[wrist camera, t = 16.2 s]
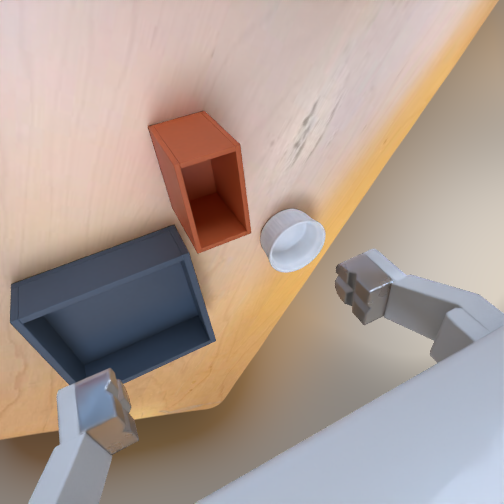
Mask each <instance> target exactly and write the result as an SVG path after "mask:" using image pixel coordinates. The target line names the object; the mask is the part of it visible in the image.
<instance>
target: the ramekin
mask: <svg viewBox="0 0 504 504" xmlns="http://www.w3.org/2000/svg"><path fill="white" fill-rule="evenodd" d="M260 241H261V246H262V248H263V250H264V252H265V253H266V255H267V257H268V259H269V262H270V264H271V266H272V267H273V268H274V269H275V270H277V271H280V272H293V271H296V270H299V269H301V268H303V267H304V266H306V265H307V264H309V263H310V262H311V261H312V260H313V259H314V258H315V257H316V256H317V255H318V254H319V252H320V251H321V249H322V247H323V244H324V241H325V229H324V227H323V226H322V225H321V224H320V223H319V222H317V221H315V220H313V219H312V218H311V217H309V216H308V215H307V214H306V213H304V212H302V211H300V210H298V209H286V210H283V211H281V212H279V213H277V214H275V215H274V216H273V217H272V218H271V219H270V220H269V221H268V222H267V223H266V224H265V226H264V228H263V230H262V232H261V238H260Z"/></svg>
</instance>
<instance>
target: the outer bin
mask: <svg viewBox="0 0 504 504" xmlns="http://www.w3.org/2000/svg"><path fill="white" fill-rule="evenodd" d="M10 323H11V324H12V325H13V326H14V327H15V328H16V330H17V331H18V332H19V333H20V334H21V335H22V336H23V337H24V338H25V339H26V340H27V341H28V342H29V343H30V344H31V345H32V346H33V347H34V348H35V349H36V350H37V352H38V353H39V354H40V355H41V356H42V357H43V358H44V359H45V360H46V361H47V362H48V363H49V364H50V365H51V366H52V367H53V368H54V369H55V370H56V371H57V372H58V374H59V375H60V376H61V377H62V378H63V379H64V380H65V381H66V382H67V383H68V384H69V385H71V384H73V383H76V382H78V381H81V380H83V379H85V378H88V377H90V376H92V375H94V374H97V373H99V372H101V371H104V370H106V369H108V368H111V369H112V370H113V371H114V372H115V376H116V379H118V380H121V382H122V383H123V384H124V383H126V382H128V381H131V380H133V379H135V378H137V377H139V376H141V375H144V374H146V373H148V372H150V371H152V370H154V369H156V368H159V367H161V366H163V365H165V364H167V363H169V362H172V361H174V360H176V359H178V358H180V357H182V356H184V355H187V354H189V353H191V352H193V351H195V350H197V349H200V348H202V347H204V346H206V345H208V344H210V343H212V342H215V341H216V339H215V335H214V332H213V329H212V326H211V322H210V319H209V316H208V313H207V309H206V306H205V303H204V300H203V296H202V293H201V290H200V287H199V283H198V280H197V277H196V274H195V270H194V267H193V264H192V261H191V257H190V254H189V252H188V250H187V248H186V246H185V244H184V242H183V240H182V239H181V237H180V235H179V233H178V231H177V229H176V227H175V225H172V226H169V227H167V228H164V229H161V230H158V231H156V232H153V233H150V234H147V235H145V236H142V237H139V238H136V239H134V240H131V241H128V242H126V243H123V244H120V245H117V246H115V247H112V248H109V249H106V250H104V251H101V252H98V253H95V254H93V255H90V256H87V257H84V258H82V259H79V260H76V261H74V262H71V263H68V264H65V265H63V266H60V267H57V268H54V269H52V270H49V271H46V272H43V273H41V274H38V275H35V276H32V277H30V278H27V279H24V280H22V281H19V282H16V283H13V284H11V305H10Z"/></svg>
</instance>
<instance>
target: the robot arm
mask: <svg viewBox="0 0 504 504" xmlns="http://www.w3.org/2000/svg"><path fill="white" fill-rule="evenodd" d="M336 273H337V274H338V277H337V279H336V280H335V288H336V291H337V294H338V295H339V297H340V299H341V300H342V301H343V302H344V303H345V304H348V305H351V306H352V312H353V313H354V315H355V316H356V317H357V318H358V319H359V320H360V321H361V322H362V324H363V325H366V324H368V323H370V322H372V321H374V320H376V319H378V318H381V317H382V316H384V317H385V318H386V319H389V320H391V321H393V322H395V323H397V324H399V325H402V326H404V327H406V328H408V329H410V330H412V331H415V332H417V333H419V334H421V335H423V336H425V337H428V338H430V339H432V340H434V343H433V346H432V348H431V350H430V356H431V357H432V358H433V359H434V360H435V361H436V362H437V364H435V365H434V366H432V367H430V368H428V369H427V370H425V371H423V372H421V373H420V374H418V375H416V376H415V377H413V378H411V379H409V380H408V381H406V382H404V383H402V384H401V385H399V386H398V387H395V388H394V389H392V390H390V391H389V392H387V393H385V394H383V395H382V396H380V397H378V398H376V399H375V400H373V401H371V402H369V403H368V404H366V405H364V406H362V407H361V408H359V409H357V410H356V411H354V412H352V413H350V414H349V415H347V416H345V417H343V418H342V419H340V420H338V421H337V422H335V423H333V424H331V425H330V426H328V427H326V428H324V429H323V430H321V431H319V432H317V433H316V434H314V435H312V436H310V437H309V438H307V439H305V440H303V441H302V442H300V443H299V444H296V445H295V446H293V447H291V448H290V449H288V450H286V451H284V452H283V453H281V454H280V455H277V456H276V457H274V458H272V459H270V460H269V461H267V462H266V463H264V464H262V465H260V466H258V467H257V468H255V469H253V470H251V471H250V472H248V473H247V474H244V475H243V476H241V477H239V478H238V479H236V480H234V481H232V482H231V483H229V484H227V485H225V486H224V487H222V488H220V489H218V490H217V491H215V492H213V493H212V494H210V495H208V496H206V497H205V498H203V499H201V500H199V501H198V502H196V503H194V504H504V314H503V313H502V312H501V311H500V310H498V309H497V308H496V307H495V306H493V305H492V304H490V303H489V302H488V301H487V300H486V299H484V298H483V297H482V296H480V295H479V294H476V293H473V292H469V291H466V290H462V289H459V288H456V287H452V286H449V285H445V284H442V283H438V282H435V281H432V280H428V279H425V278H421V277H418V276H414V275H406V274H404V273H403V272H402V271H401V270H400V269H399V268H398V267H396V266H395V265H394V264H393V263H392V262H391V261H390V260H388V259H387V258H386V257H385V256H384V255H383V254H381V253H380V252H379V251H378V250H376V249H371V250H369V251H366V252H364V253H362V254H359V255H357V256H355V257H353V258H350V259H349V260H346V261H344V262H342V263H340V264H338V265H337V267H336ZM57 409H58V424H59V439H60V445H58V446H57V447H55V448H54V450H53V452H52V454H51V456H50V459H49V460H48V463H47V465H46V467H45V469H44V471H43V473H42V475H41V477H40V479H39V482H38V484H37V486H36V488H35V490H34V492H33V494H32V496H31V498H30V501H29V503H28V504H99V501H100V498H101V494H102V490H103V487H104V484H105V480H106V477H107V473H108V470H109V466H110V463H111V459H112V456H111V455H113V454H114V453H116V452H118V451H120V450H122V449H124V448H126V447H127V446H129V445H131V444H133V443H135V442H137V441H138V440H139V439H138V434H137V430H136V425H135V421H134V419H133V418H132V417H131V415H130V414H129V412H130V409H131V404H130V399H129V396H128V394H127V391H126V389H125V387H124V385H123V383H122V382H121V380H118V379H116V376H115V372H114V371H113V370H112V369H111V368H108V369H106V370H104V371H101V372H99V373H97V374H94V375H92V376H90V377H88V378H85V379H83V380H81V381H78V382H76V383H73V384H71V385H69V386H67V387H64V388H62V389H60V390H58V393H57Z"/></svg>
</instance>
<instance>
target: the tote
mask: <svg viewBox="0 0 504 504" xmlns="http://www.w3.org/2000/svg"><path fill="white" fill-rule="evenodd" d="M148 129H149V132H150V136H151V139H152V142H153V146H154V149H155V152H156V156H157V159H158V162H159V165H160V169H161V172H162V175H163V179H164V182H165V185H166V189H167V192H168V195H169V199H170V202H171V205H172V208H173V210H174V212H175V214H176V216H177V217H178V219H179V221H180V223H181V225H182V226H183V228H184V230H185V232H186V234H187V235H188V237H189V239H190V241H191V243H192V244H193V246H194V248H195V250H196V251H197V253H201V252H203V251H206V250H209V249H211V248H214V247H216V246H219V245H222V244H224V243H227V242H229V241H232V240H235V239H237V238H240V237H242V236H245V235H247V234H250V233H251V227H250V219H249V211H248V203H247V195H246V187H245V179H244V171H243V163H242V155H241V147H240V144H239V143H238V142H237V141H236V140H235V139H234V138H233V137H232V136H231V135H230V134H228V133H227V132H226V131H225V130H224V129H223V128H222V127H221V126H220V125H219V124H218V123H217V122H216V121H215V120H214V119H213V118H212V117H210V116H209V115H208V114H207V113H206V112H205V111H202V112H198V113H194V114H191V115H187V116H184V117H180V118H176V119H173V120H169V121H166V122H162V123H158V124H155V125H151V126H148Z"/></svg>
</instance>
